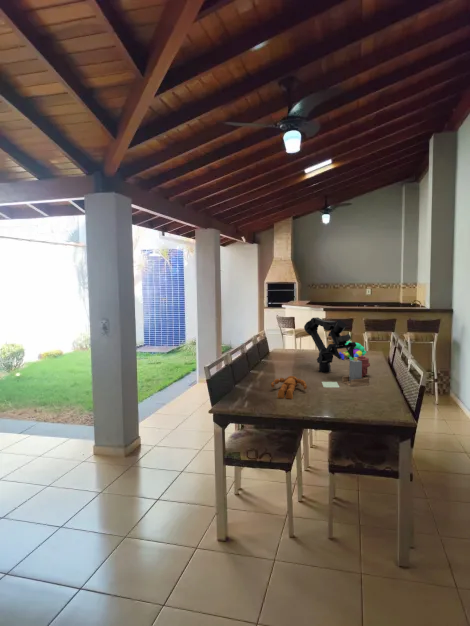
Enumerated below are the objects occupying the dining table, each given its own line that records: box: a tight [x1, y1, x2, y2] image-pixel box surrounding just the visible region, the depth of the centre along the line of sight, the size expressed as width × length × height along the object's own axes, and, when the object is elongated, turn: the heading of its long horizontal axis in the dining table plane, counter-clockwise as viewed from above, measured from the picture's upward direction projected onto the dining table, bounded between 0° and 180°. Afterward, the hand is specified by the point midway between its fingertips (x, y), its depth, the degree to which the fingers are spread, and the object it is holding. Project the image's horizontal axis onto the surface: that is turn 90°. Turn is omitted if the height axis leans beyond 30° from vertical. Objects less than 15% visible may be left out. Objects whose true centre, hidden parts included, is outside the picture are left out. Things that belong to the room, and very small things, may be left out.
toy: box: [270, 375, 308, 400], centre depth 231 cm, size 20×7×30 cm
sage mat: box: [321, 381, 340, 388], centre depth 242 cm, size 12×9×1 cm
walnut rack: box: [341, 375, 370, 388], centre depth 244 cm, size 9×12×4 cm
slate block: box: [348, 357, 363, 382], centre depth 243 cm, size 5×5×15 cm
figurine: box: [338, 340, 367, 361], centre depth 315 cm, size 18×14×20 cm
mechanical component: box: [356, 355, 371, 378], centre depth 262 cm, size 12×10×10 cm
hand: (346, 358), depth 250 cm, fingers open, 9 cm apart
